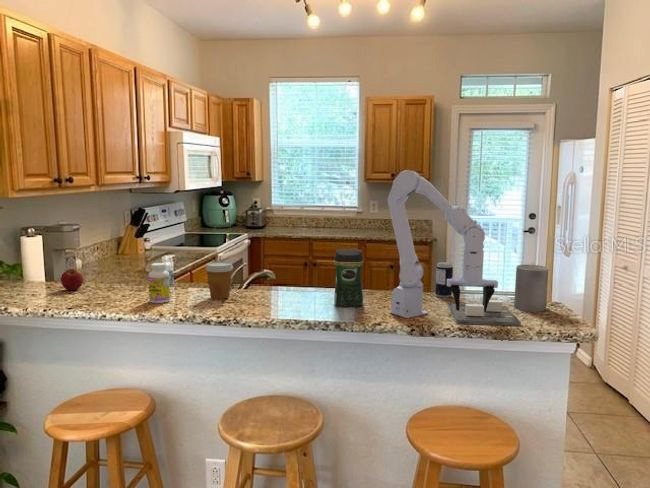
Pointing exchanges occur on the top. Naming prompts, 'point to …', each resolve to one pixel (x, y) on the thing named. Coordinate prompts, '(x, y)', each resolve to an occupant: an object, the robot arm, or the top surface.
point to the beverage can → (443, 279)
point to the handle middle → (494, 306)
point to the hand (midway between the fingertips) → (470, 310)
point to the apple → (72, 279)
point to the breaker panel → (484, 317)
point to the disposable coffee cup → (219, 279)
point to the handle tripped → (474, 310)
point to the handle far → (490, 298)
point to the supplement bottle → (159, 283)
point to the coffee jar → (348, 278)
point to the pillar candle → (531, 288)
